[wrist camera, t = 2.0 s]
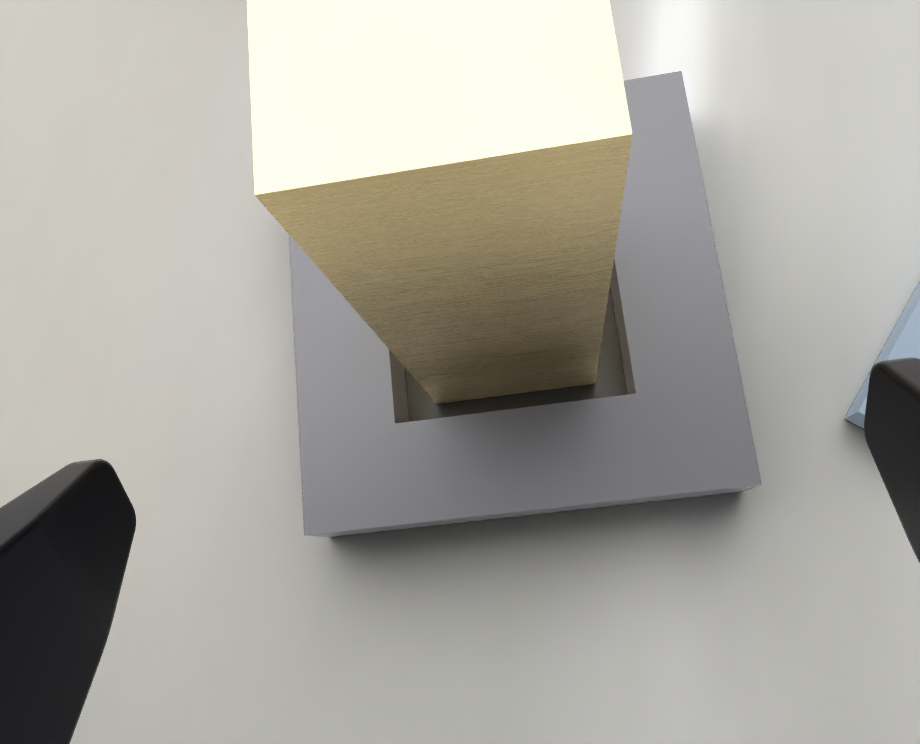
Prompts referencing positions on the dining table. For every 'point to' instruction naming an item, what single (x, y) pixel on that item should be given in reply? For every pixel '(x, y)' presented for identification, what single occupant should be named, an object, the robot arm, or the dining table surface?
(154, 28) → the dining table surface
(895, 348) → the blue mat
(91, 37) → the dining table surface
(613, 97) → the pale yellow block
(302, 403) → the socket block
